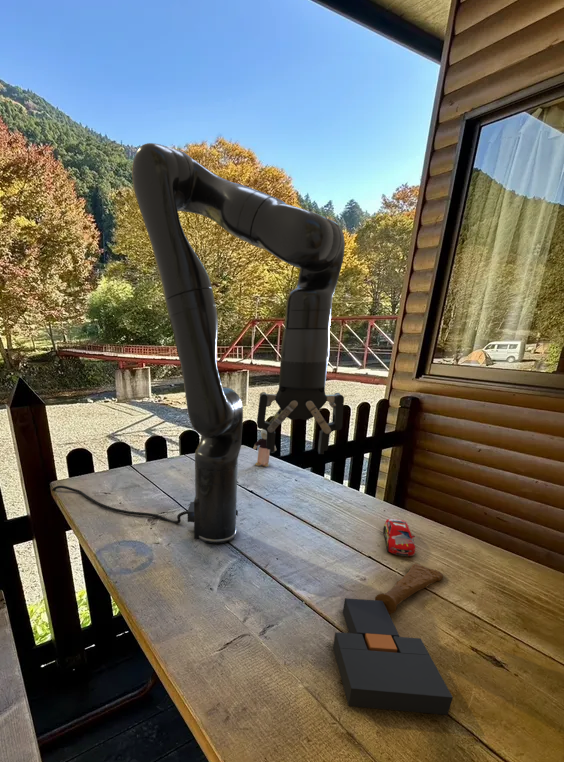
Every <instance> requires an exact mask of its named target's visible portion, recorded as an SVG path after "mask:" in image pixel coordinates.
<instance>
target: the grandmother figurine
mask: <svg viewBox="0 0 564 762" xmlns="http://www.w3.org/2000/svg"><path fill="white" fill-rule="evenodd" d="M260 430H261V431H260V437H261V438H259V439H258V440H257V441H256V442H255V443H254V445H253V448H252V449H253V450H257V448H258V450H257V459H256V460H257V461H256V463H255V466H256V467H257V466H258V467H261V466H262V467H267V468H268V467H269V466H270V465H269V462H270V455H271V453H270V450H269V449H267V446H266V439H267V431H266V430H264V429H260ZM276 451H277V447H276V446H275V449H274V452H276Z"/></svg>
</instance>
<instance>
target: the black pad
mask: <svg viewBox="0 0 564 762" xmlns="http://www.w3.org/2000/svg"><path fill="white" fill-rule="evenodd" d="M393 641H394V643H395V645H396V647H397V653H394V652H381V651H368V650H367V647H366V644H365V641H364V639H363V636H362V634H354V633H349V632H340V631H339V632H338V631H335V632H334V638H333V645H332V648H333V653H334V656H335V660H336V664H337V668H338V671H339V675H340V679H341V683H342V687H343V691H344V694H345V698H346V702H347V706H348V707H358V708H366V709H379V710H390V711H399V712H410V713H420V714H421V713H422V714H433V715H442V716H448V715H449V712H450V709H451V705H452V702H453V699H454V696H453V695H452V693H451V692H450V690H449V689H450V688H448V685H447V684H446V682H445V679H443V677H442V674H441V673H440V671H439V669H438V667H437V666H436V663H435V662H434V660H433V658H432V657H431V655H430V653H429V650H428V649H427V647H426V645H425V644H424V642H423V640H422V638H419V637H408V636H407V637H406V636H399V637H395V636H394V637H393Z"/></svg>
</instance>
